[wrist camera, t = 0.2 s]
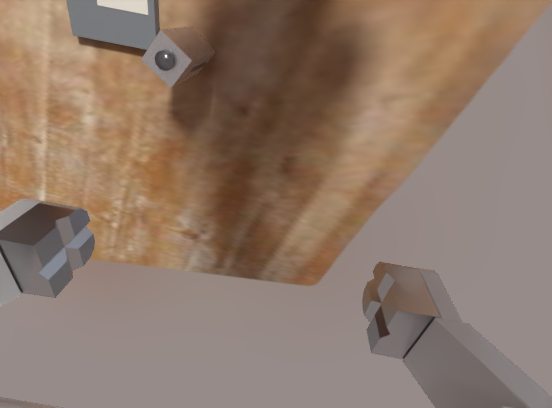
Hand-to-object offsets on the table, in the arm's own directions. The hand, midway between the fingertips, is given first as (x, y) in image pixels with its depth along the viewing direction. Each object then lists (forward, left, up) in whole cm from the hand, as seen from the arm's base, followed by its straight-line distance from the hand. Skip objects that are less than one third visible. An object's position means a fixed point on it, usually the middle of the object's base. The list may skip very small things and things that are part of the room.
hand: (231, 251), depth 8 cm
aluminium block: (+2, -17, -48) cm, 51 cm away
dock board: (-4, -30, -48) cm, 56 cm away
